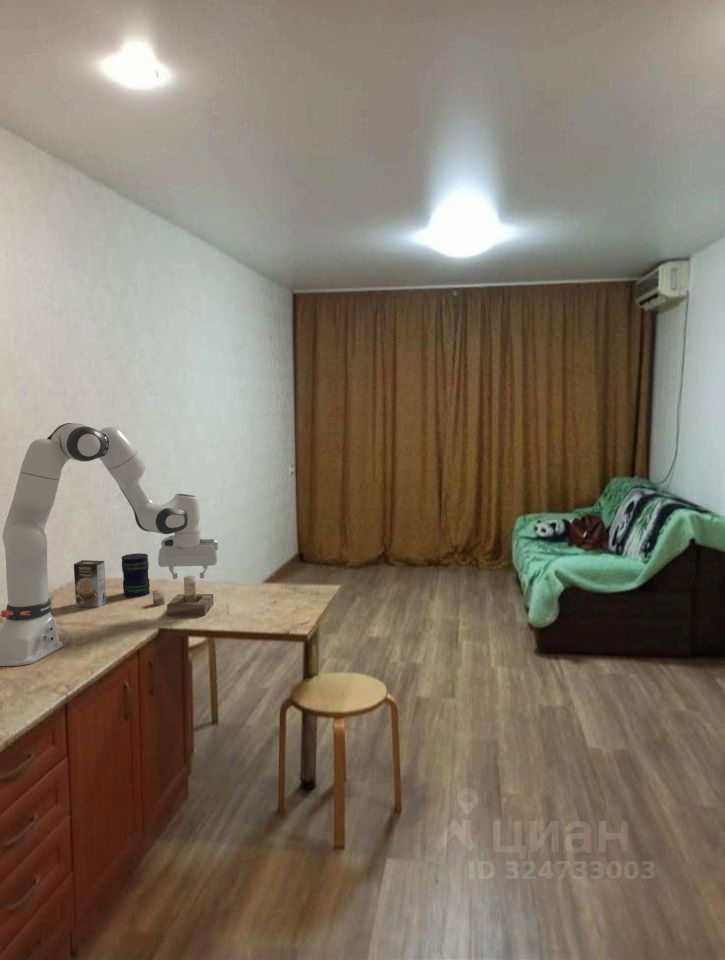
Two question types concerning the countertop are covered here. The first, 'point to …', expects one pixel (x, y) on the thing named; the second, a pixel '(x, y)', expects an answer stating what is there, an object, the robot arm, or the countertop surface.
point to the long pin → (190, 588)
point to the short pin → (158, 597)
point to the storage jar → (135, 575)
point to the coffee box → (89, 583)
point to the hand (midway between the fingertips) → (188, 578)
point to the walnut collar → (190, 605)
